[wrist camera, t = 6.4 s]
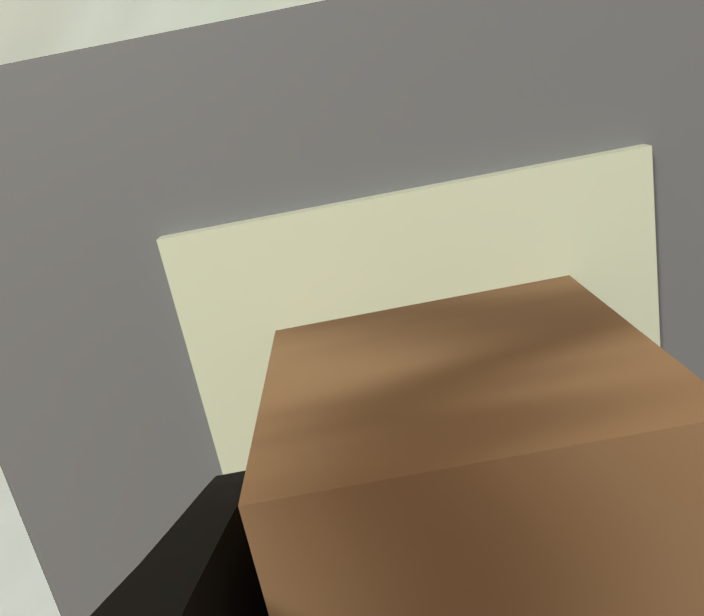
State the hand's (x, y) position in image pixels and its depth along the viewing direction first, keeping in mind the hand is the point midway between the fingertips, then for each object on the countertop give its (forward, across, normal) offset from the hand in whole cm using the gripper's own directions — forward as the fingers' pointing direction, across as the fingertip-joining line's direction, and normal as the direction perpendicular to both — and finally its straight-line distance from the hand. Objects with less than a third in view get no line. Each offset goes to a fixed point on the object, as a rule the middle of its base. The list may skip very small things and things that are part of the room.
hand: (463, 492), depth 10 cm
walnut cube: (+2, 0, 0) cm, 2 cm away
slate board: (+5, 0, 0) cm, 5 cm away
